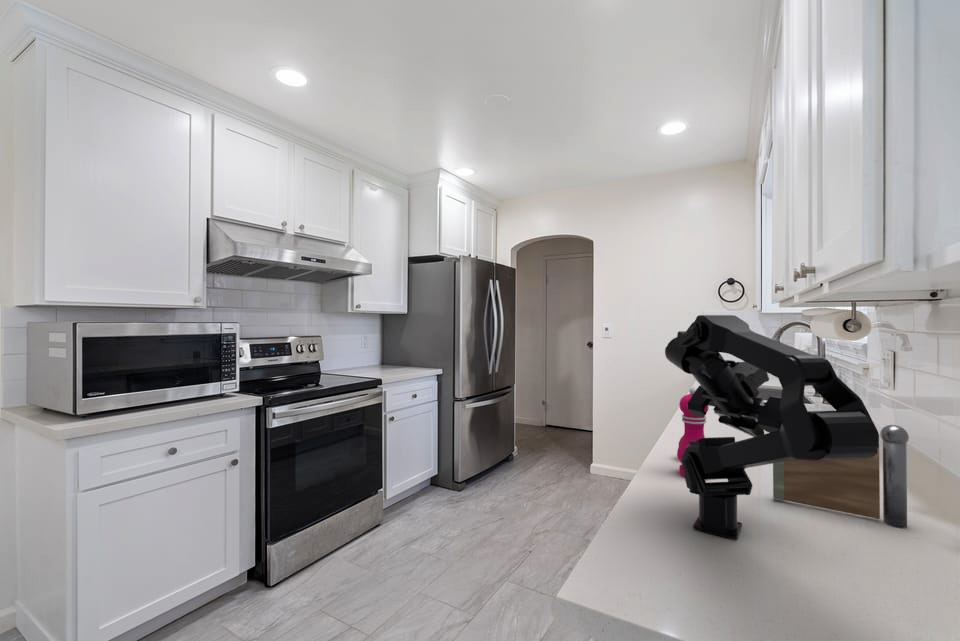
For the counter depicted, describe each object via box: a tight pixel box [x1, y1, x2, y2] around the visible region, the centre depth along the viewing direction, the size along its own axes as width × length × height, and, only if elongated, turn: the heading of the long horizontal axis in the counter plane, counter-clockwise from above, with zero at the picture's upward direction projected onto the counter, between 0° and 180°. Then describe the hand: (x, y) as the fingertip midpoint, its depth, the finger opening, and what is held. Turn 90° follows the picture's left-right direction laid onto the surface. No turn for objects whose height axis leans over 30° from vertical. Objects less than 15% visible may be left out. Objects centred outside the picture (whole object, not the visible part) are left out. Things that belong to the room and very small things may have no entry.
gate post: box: [879, 424, 910, 529], centre depth 77 cm, size 4×4×17 cm
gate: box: [772, 445, 881, 520], centre depth 83 cm, size 2×16×14 cm, turn 53°
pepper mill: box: [676, 386, 710, 478], centre depth 102 cm, size 7×7×20 cm
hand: (761, 437), depth 82 cm, fingers closed
